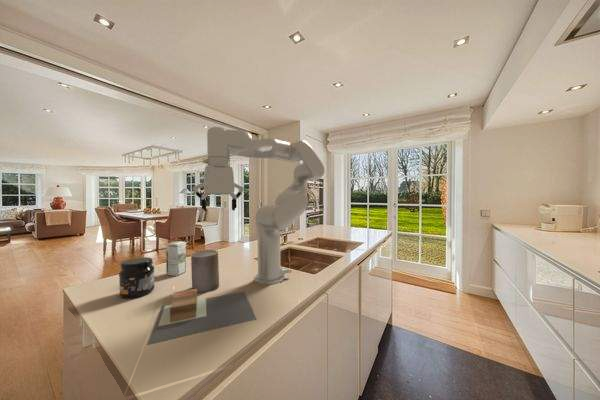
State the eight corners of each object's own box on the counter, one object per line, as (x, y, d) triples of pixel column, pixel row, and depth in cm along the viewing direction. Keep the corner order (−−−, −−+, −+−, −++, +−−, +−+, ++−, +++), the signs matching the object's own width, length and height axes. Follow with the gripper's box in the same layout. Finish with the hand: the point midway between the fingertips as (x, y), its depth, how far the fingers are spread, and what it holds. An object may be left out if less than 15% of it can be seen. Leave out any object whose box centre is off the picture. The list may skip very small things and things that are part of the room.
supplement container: (116, 294, 81) (115, 261, 80) (149, 284, 89) (148, 255, 88) (123, 302, 74) (122, 267, 74) (158, 291, 82) (158, 259, 82)
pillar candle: (215, 281, 92) (214, 245, 92) (222, 288, 84) (221, 250, 84) (189, 287, 86) (188, 249, 86) (194, 296, 78) (193, 254, 78)
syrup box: (175, 271, 104) (174, 241, 104) (186, 271, 104) (185, 241, 103) (166, 275, 99) (165, 243, 99) (178, 276, 98) (177, 243, 98)
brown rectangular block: (196, 317, 63) (195, 302, 63) (170, 322, 61) (169, 307, 61) (197, 300, 73) (197, 288, 73) (175, 304, 71) (174, 291, 71)
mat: (244, 292, 81) (244, 290, 81) (256, 320, 62) (256, 318, 62) (161, 307, 70) (161, 305, 70) (147, 346, 52) (147, 344, 52)
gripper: (191, 160, 72) (192, 212, 72) (245, 163, 79) (245, 210, 79) (192, 163, 79) (193, 210, 79) (241, 165, 86) (242, 209, 86)
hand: (219, 210), depth 79 cm, fingers open, 9 cm apart
